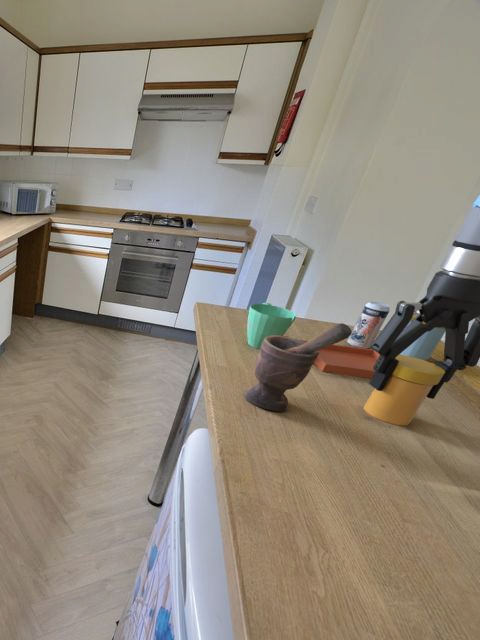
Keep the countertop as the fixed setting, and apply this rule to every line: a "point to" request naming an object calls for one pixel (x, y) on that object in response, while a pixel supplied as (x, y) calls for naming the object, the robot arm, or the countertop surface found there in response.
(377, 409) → the jam jar
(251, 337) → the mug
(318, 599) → the countertop surface
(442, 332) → the bottle
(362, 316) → the beer can
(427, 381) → the jar lid
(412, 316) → the robot arm
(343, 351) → the tray
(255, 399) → the mortar and pestle
